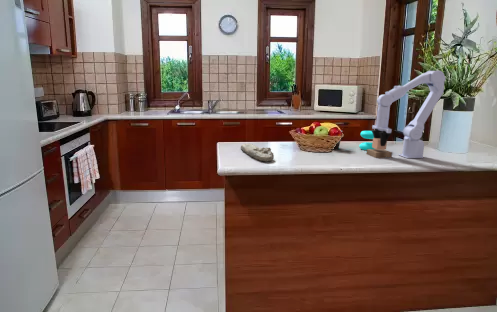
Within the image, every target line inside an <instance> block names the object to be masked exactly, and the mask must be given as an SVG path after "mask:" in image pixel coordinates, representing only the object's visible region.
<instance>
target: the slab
mask: <svg viewBox="0 0 497 312" xmlns="http://www.w3.org/2000/svg"><path fill="white" fill-rule="evenodd" d="M365 154H366V155H367V156H370V157H372V158H374V159H383V158H384V159H385V157H390V158H393V157H392V155H393V152H392V151H389V150H387V149H367V150H366V153H365Z"/></svg>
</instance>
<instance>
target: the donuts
mask: <svg viewBox="0 0 497 312" xmlns="http://www.w3.org/2000/svg"><path fill="white" fill-rule="evenodd" d="M360 136H361V137H362V138H363V139H367V140H368V139H369V140H373V138H374V135H373V133H372V130H362V131H361V132H360ZM372 144H373V142H370V141H369V142H368V141H367V142H365V141H364V142H361V143H360V144H358V145H359V146H358V147H359V149H361V150H362V151H367V149H375V148H372Z"/></svg>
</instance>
